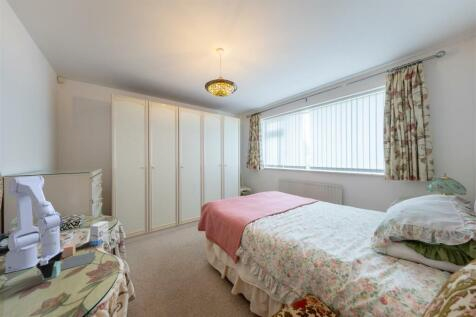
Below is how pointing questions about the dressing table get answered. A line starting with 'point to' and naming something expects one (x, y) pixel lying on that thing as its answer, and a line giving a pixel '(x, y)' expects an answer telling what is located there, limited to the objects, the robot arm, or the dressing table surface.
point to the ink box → (98, 232)
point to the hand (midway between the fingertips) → (51, 272)
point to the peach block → (68, 250)
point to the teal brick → (54, 271)
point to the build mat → (77, 261)
